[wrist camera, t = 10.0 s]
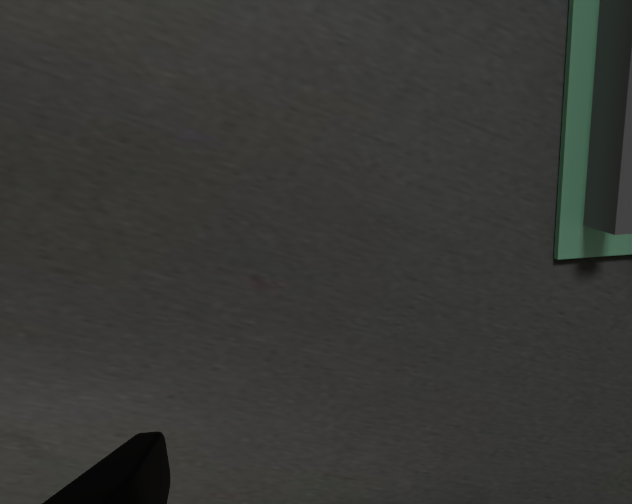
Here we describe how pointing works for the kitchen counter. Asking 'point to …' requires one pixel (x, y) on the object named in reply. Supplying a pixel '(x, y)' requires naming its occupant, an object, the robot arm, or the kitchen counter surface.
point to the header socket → (596, 133)
